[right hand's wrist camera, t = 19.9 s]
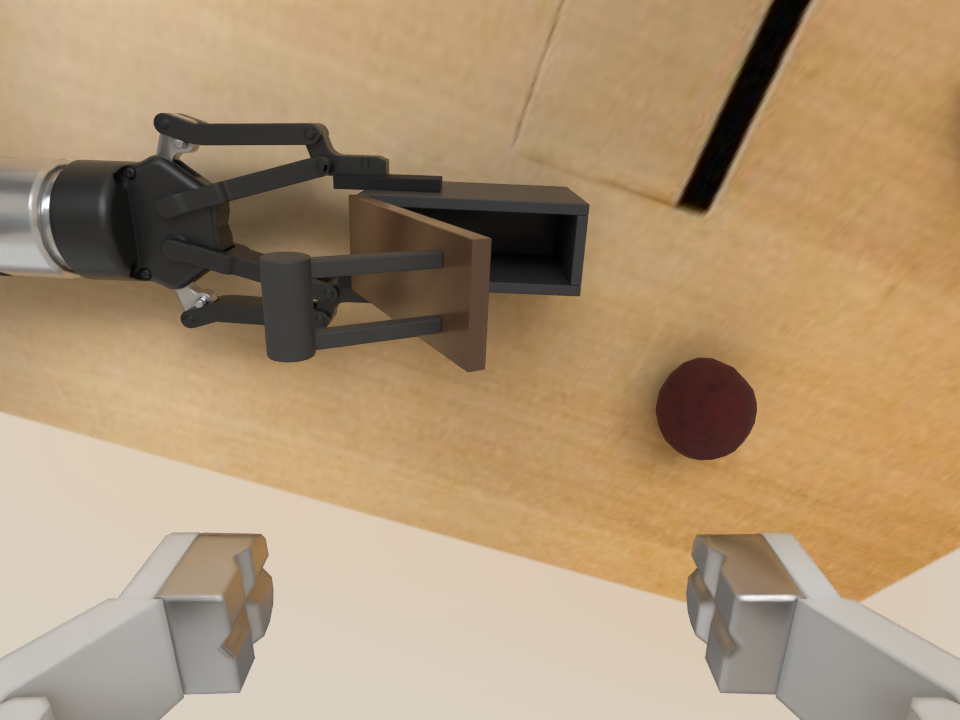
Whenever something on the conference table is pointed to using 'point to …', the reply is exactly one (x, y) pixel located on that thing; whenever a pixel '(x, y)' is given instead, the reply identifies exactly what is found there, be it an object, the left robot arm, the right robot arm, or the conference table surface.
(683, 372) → the potato
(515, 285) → the chest
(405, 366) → the conference table surface
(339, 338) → the lid
